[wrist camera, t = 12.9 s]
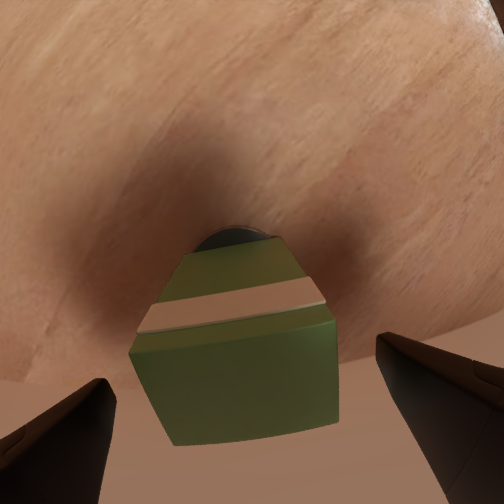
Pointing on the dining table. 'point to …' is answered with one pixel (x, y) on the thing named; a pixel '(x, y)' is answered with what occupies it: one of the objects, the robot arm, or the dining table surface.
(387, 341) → the robot arm
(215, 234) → the coaster
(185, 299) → the packet
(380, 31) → the dining table surface
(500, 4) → the walnut stand
